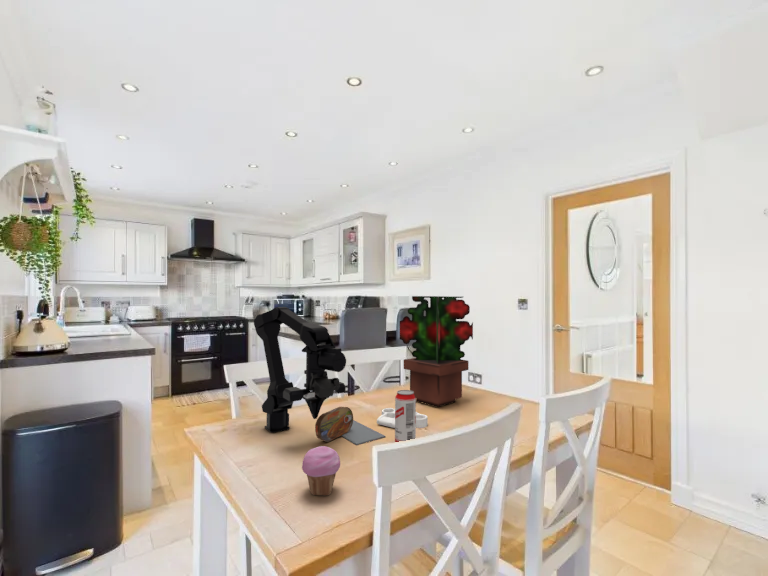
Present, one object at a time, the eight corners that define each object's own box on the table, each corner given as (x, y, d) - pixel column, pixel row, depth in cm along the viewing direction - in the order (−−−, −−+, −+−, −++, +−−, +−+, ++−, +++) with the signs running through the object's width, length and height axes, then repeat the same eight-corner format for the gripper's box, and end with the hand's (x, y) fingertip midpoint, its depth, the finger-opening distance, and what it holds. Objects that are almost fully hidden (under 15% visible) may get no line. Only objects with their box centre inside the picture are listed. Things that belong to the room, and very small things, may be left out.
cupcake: (339, 501, 82) (339, 455, 82) (299, 503, 81) (299, 456, 81) (340, 481, 91) (341, 439, 91) (304, 482, 90) (305, 440, 90)
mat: (356, 445, 113) (356, 443, 113) (326, 427, 128) (326, 426, 128) (385, 437, 119) (385, 435, 119) (353, 421, 134) (353, 419, 134)
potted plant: (432, 392, 176) (433, 296, 177) (472, 402, 159) (472, 296, 160) (399, 400, 161) (399, 296, 162) (439, 412, 144) (440, 296, 145)
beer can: (401, 450, 109) (401, 395, 109) (391, 443, 114) (391, 390, 115) (419, 447, 112) (419, 393, 112) (408, 439, 117) (408, 388, 118)
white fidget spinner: (369, 424, 132) (391, 413, 144) (414, 435, 122) (433, 423, 134) (369, 415, 132) (391, 405, 144) (414, 425, 122) (433, 413, 134)
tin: (320, 445, 112) (320, 417, 112) (313, 443, 114) (312, 415, 114) (354, 429, 124) (353, 404, 124) (347, 427, 126) (346, 402, 126)
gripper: (298, 376, 103) (297, 433, 103) (355, 368, 114) (354, 419, 114) (282, 369, 112) (281, 421, 112) (337, 363, 123) (336, 410, 123)
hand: (314, 418), depth 115 cm, fingers closed
